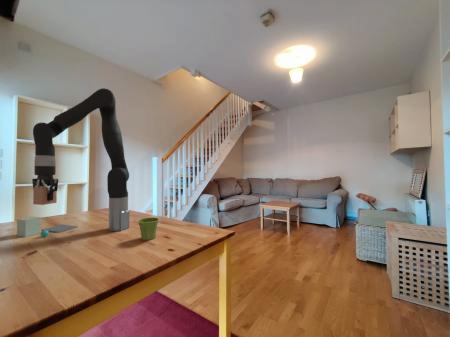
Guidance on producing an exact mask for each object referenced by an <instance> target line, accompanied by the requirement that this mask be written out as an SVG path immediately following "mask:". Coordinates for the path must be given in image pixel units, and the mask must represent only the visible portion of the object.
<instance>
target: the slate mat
mask: <svg viewBox="0 0 450 337" xmlns="http://www.w3.org/2000/svg"><path fill="white" fill-rule="evenodd" d="M76 228H78V226H77V225H71V224H58V225H55V226H51V227H47V228H46V227H45V228H43V229H40V232H42V231H44V230H47V231H49V233H50V232H51V233H58V234H59V233H61V232H65V231H69V230H72V229H76Z"/></svg>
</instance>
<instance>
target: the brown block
mask: <svg viewBox="0 0 450 337" xmlns="http://www.w3.org/2000/svg"><path fill="white" fill-rule="evenodd" d="M53 188H54V189H55V186H54V187H53ZM49 190H50V188H49ZM32 191H33V192H32V194H33V195H32V196H33V197H32V199H33V200H32V202H33V204H32V205H40V206H45V205H50V204H56V203H57V199H58V198H57V191H58V190H57V191H55V192H54V193H53V200H51V201H47V188H46V187H33V186H32Z"/></svg>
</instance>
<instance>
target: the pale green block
mask: <svg viewBox="0 0 450 337" xmlns="http://www.w3.org/2000/svg"><path fill="white" fill-rule="evenodd" d="M39 234H41V216H28V217H27V216H26V217H22V218H18V219H16V236H17V237H22V238H27V237H31V236H34V235H39Z"/></svg>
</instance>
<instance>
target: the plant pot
mask: <svg viewBox="0 0 450 337" xmlns="http://www.w3.org/2000/svg"><path fill="white" fill-rule="evenodd" d="M159 221H160V218H158V217H155V216H154V217H152V216H151V217H145V218H140V219H138V220H137V223H138V226H139V230H140V237H141V239H142V241H149V240H154V239H156V237H157V235H156V234H157V230H158V223H159Z"/></svg>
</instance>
